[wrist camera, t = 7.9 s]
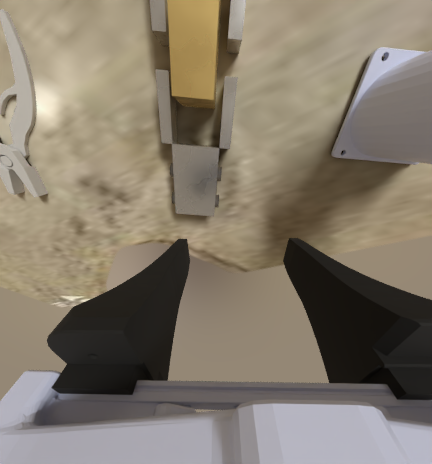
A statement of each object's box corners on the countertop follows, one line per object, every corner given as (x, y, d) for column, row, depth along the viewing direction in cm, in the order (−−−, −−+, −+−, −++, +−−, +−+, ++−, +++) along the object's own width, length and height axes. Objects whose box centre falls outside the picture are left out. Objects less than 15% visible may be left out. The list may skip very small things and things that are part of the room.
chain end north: (235, 85, 14) (237, 76, 12) (222, 209, 21) (222, 217, 18) (163, 78, 14) (154, 68, 12) (172, 205, 20) (167, 212, 18)
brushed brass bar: (220, 12, 12) (221, -45, 8) (214, 109, 15) (213, 100, 12) (181, 8, 12) (164, -52, 8) (183, 106, 15) (171, 95, 11)
